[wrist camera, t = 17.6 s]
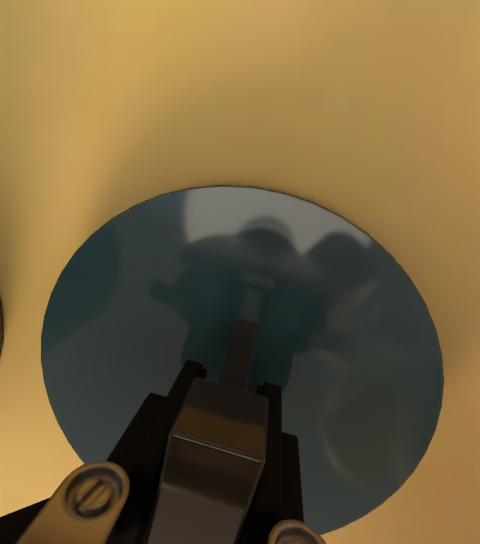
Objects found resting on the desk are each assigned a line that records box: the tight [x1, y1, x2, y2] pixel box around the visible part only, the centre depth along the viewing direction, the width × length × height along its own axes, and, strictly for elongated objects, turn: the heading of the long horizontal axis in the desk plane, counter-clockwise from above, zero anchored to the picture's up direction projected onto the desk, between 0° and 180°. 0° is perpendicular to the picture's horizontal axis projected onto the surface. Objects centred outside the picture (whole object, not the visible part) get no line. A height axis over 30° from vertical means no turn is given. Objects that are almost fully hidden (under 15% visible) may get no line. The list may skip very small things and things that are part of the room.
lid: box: [41, 185, 444, 544], centre depth 9 cm, size 14×14×6 cm
